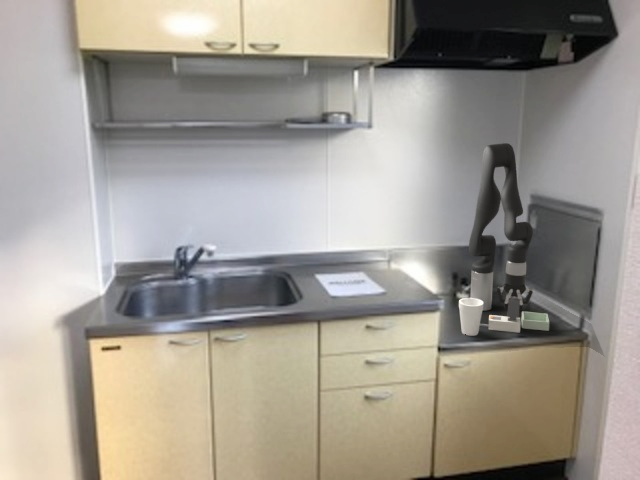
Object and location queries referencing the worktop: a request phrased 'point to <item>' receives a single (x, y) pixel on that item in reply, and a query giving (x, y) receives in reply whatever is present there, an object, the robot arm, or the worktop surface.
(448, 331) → the worktop surface
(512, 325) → the power strip
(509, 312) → the block
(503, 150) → the robot arm
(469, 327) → the foam cup
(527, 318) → the tray
